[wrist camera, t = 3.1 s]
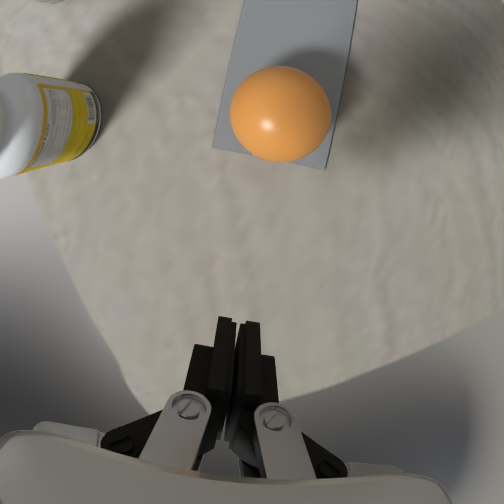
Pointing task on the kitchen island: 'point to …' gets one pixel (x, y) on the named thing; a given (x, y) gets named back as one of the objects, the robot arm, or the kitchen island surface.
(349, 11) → the plate
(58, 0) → the plastic bottle
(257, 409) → the robot arm
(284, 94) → the ball
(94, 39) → the kitchen island surface
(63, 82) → the pill bottle
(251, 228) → the kitchen island surface
